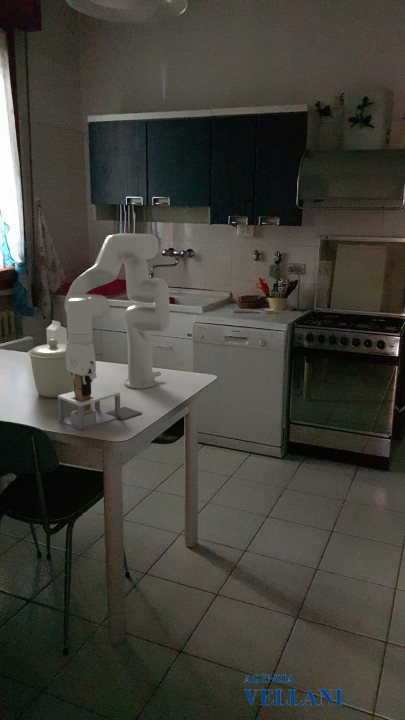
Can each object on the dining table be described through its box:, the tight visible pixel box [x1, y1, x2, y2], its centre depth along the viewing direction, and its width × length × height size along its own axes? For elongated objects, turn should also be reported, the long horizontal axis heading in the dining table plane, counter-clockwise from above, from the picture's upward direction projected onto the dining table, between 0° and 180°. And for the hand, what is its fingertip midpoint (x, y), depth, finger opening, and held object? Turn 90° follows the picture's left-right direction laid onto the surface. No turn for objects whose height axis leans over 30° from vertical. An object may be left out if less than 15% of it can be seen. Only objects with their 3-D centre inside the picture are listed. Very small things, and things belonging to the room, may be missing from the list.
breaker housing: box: [57, 384, 121, 431], centre depth 192 cm, size 16×12×9 cm
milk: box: [46, 319, 68, 344], centre depth 245 cm, size 6×6×22 cm
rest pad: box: [107, 406, 143, 421], centre depth 199 cm, size 9×9×1 cm
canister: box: [27, 339, 74, 399], centre depth 217 cm, size 18×18×21 cm
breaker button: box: [75, 409, 91, 415], centre depth 189 cm, size 3×3×4 cm
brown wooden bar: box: [74, 374, 92, 411], centre depth 186 cm, size 3×3×14 cm
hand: (82, 393), depth 187 cm, fingers closed on brown wooden bar, 3 cm apart
